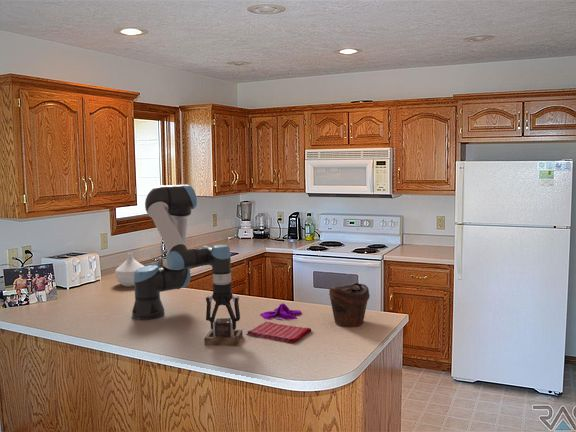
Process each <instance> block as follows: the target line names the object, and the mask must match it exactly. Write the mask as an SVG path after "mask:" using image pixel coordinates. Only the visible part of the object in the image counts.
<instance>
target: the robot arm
mask: <svg viewBox="0 0 576 432" xmlns="http://www.w3.org/2000/svg"><path fill="white" fill-rule="evenodd" d="M197 205H198V201H197V195H196V191H195V189H194V188H193V186H192V185H190V184H170V185H158V186H155V187H154V188H152V189H151V190H150V191H149V192H148V194H147V195H146V198H145V202H144V208H145V211H146V214H147V215H148V217H149V218H151V219H152V221H153V223H154V225H155V227H156V229H157V231H158V232H159V235H160V237H161V239H162V242H163V243H164V246H165V247H166V256H165V257H166V258H165V260H163V262H162V267H159V266H158V265H155V264H151V265H144V266H145V267H141V268H139V269H137V270H136V271H135V272H134V286H133V287H134V298H135V299H134V304H133V307H132V310H131V312H132V313H131V315H132V318H133V319H136V320H152V319H153V320H154V319H156V318H157V319H158V318H160V317H163V316H164V315H165V307H164V305H163V302H162V300H161V292H168V291H172V290H173V291H174V290H180V289H183V288H186V287H188V285H189V283H190V281H191V268H196V267H204V266H211V267H212V268H211V270H212V271H211V272H212V273H211V274H212V295H207V296H206V297H205V301H206V313H205V320H206V321H209V322H210V330H211V329H213V337H216V316H217V313H218V309H219V306H225V308H226V309H227V312H228V315H229V318H231V323H230V327H231V337H232V338H233V337H234V330H235V329H236V330H237V322H239V321H240V320H241V313H240V305H239V300H240V296H235V295H233V293H232V283H231V282H232V272H231V270H232V269H231V267H232V266H231V265H232V264H231V256H232V255H231V248H230V246H229V245H227V244H215V245H213V246H211V245H203V246H201V247H199V248H198V247H197V248H192V249H191V248H190V249H188V247H187V244H186V238H187V226H188V218H189V216H191V215H192V210H195V209H196V207H197ZM231 300H232V301H233V305H234V306H233V307H234V311H235V312H234V311H233V308H232V304H231ZM212 301H214V302H215V303H214V308H213V311H212ZM211 311H212V312H211ZM211 313H212V314H211Z"/></svg>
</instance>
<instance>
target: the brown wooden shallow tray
mask: <svg viewBox="0 0 576 432" xmlns="http://www.w3.org/2000/svg"><path fill="white" fill-rule="evenodd" d="M243 337H244V336H243V329H237V328H236V329H235V330H234V337H233V338H232V337H213V329H211V328H210V330H209V331H208V332H207V333H206V334H205V336H204V339H203V340H204V342H203V343H204V346H220V347H221V346H222V347H223V346H227V347H228V346H229V347H231V346H232V347H238V345H239V344H240V342H241V340H242V338H243Z"/></svg>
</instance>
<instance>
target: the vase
mask: <svg viewBox="0 0 576 432" xmlns="http://www.w3.org/2000/svg"><path fill="white" fill-rule="evenodd" d="M145 266H146V265H143V264H142V263H140V262H139V261H137V260H136V259H135V258H134V254H133V252H128V253H127V258H126V259H125V261H124V262H122V264H120V265H119V266H118V267H117V268H115V271H114V275H115V278H116V281H117V282H118V283H119V284H120V285H122V286H124V287H134V272H135V271H136V270H137V269H139V268H141V267H145Z"/></svg>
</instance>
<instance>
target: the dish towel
mask: <svg viewBox="0 0 576 432" xmlns="http://www.w3.org/2000/svg"><path fill="white" fill-rule="evenodd" d="M311 332H312V329H311V328H310V327H304V326H303V327H302V326H296V325H287V324H281V323H276V322H275V323H274V322H271V321H265V322H263V323H261V324H260V325H258V326H256V327H253V329H250V330H248V331H247V333H246V336H251V337H255V338H260V339H263V340H264V339H265V340H270V341H275V342H280V343H287V344H294V343H296V342H298V341H299V340H300V339H302V338H303V337H305V336H307V335H308V334H310V333H311Z"/></svg>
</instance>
